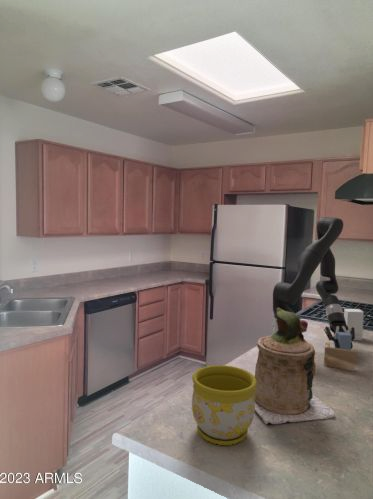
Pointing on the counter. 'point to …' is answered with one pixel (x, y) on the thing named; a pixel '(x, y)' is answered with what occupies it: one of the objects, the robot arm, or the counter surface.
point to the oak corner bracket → (339, 357)
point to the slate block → (344, 340)
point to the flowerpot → (223, 403)
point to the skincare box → (354, 321)
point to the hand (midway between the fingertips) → (344, 348)
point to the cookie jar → (287, 375)
